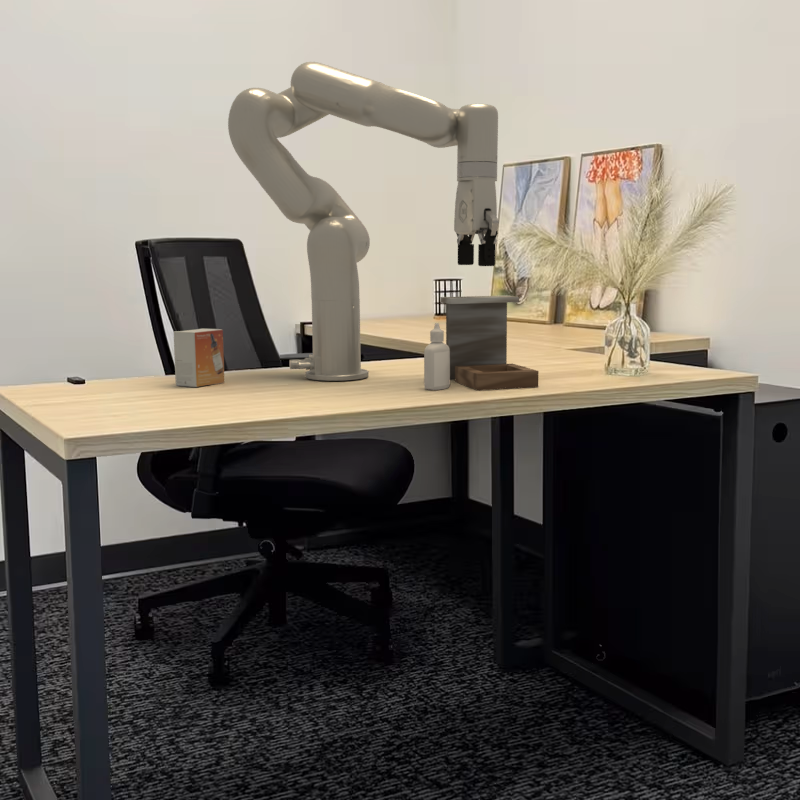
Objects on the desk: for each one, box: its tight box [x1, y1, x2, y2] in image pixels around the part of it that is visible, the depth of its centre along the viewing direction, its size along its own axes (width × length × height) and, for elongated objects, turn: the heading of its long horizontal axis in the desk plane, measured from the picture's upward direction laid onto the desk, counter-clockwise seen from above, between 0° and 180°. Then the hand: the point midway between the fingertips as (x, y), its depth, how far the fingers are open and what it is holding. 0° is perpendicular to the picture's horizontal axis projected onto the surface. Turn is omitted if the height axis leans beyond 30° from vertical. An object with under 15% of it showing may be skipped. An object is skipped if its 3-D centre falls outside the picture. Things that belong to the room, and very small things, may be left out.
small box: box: [173, 327, 225, 388], centre depth 186 cm, size 8×6×10 cm
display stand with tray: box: [440, 294, 540, 391], centre depth 184 cm, size 18×14×16 cm
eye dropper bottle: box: [423, 322, 451, 391], centre depth 177 cm, size 4×6×12 cm
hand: (475, 265), depth 184 cm, fingers open, 9 cm apart
